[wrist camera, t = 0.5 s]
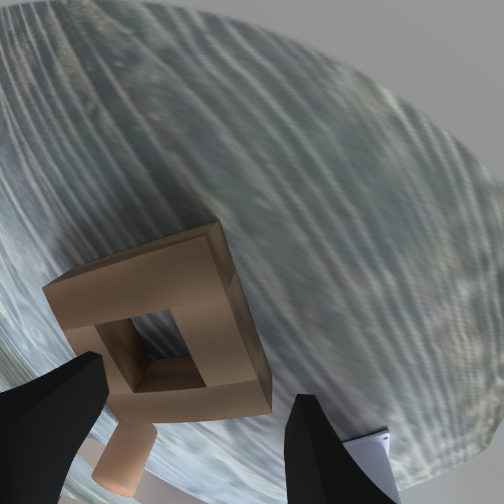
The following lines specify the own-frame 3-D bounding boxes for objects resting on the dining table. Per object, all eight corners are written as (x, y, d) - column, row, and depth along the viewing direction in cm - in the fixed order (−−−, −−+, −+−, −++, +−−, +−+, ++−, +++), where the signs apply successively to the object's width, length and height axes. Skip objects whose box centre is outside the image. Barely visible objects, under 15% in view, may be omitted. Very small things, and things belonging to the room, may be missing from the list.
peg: (163, 438, 24) (142, 500, 17) (133, 437, 25) (108, 493, 17) (145, 414, 23) (116, 477, 16) (114, 413, 24) (83, 470, 16)
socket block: (272, 374, 21) (271, 413, 17) (138, 391, 22) (121, 422, 18) (219, 219, 17) (205, 235, 14) (73, 267, 19) (41, 288, 15)
